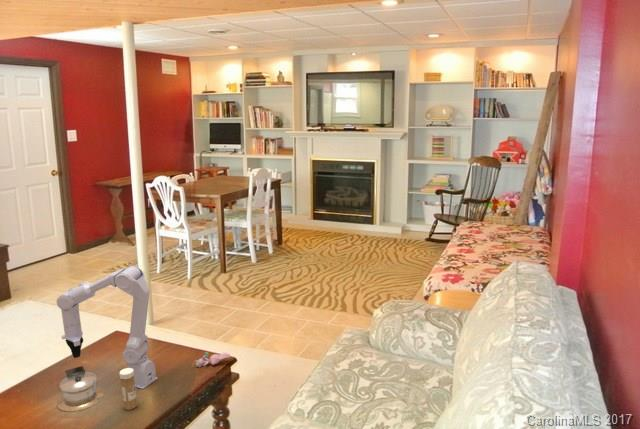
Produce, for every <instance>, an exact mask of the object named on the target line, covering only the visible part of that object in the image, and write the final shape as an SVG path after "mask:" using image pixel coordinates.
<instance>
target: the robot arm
mask: <svg viewBox="0 0 640 429" xmlns="http://www.w3.org/2000/svg"><path fill="white" fill-rule="evenodd" d="M109 286H112V287H113V288H118V290H120V291H123V292H124V293H126V294H128V295H130V296H131V297H132V298H133V299H132V308H131V309H132V310H131V317H130V318H131V320H130V327H129V328H130V329H129V337H128V340H127V342H126V344H125V349H124V350H123V352H122V359H123V361H124V362H125V363H126V366H127V367H126V368H132V369H133V370H134V382H135V388H138V389H142V390H143V389H145V388H147V387H148V386H150V385H151V384H152V383H154V382H155V381H157V380H158V379H159V378H158V377H157V372H156V365H155V363H154V362H153V361H152V360H150V359H149V358H148V354H147V353H148V350H149V349H150V345H149V344H150V343H149V340H148V335H146V330H147V329H146V326H147V318H148V310H149V309H148V308H149V299H150V289H149V286H148V284H147V281H146V279H145V272H144V270H142V269H141V268H140V267H139V266H137V265H128V267H127V268H126V267H125V268H124V267H123V268H121V269H118V270H116V271H114V272H111V273H109V274H107V275H106V276H104V277H102V278H100V279H98V280H96V281H95V282H92V283H91V282H81V283H78V286H76V287H74V288H69V289H68V291H65V292H64V293H62V294H60V295H59V296H58V297H57V299H56V305H57V307H58V308H59V309H60V310H61V318H62V323H63V324H62V325H63V330H64V334H63V335H61V339H62V340H64V341H65V343H66V344H67V346H68V348H70V351H71V352H70V353H71V355H72V357H73V358H74V359H76V358H77V359H78V358H80V357H81V351H82V346H83V343H84V338H83V336H84V335H83V334H84V333H83V330H82V323H81V316H80V309H79V308H80V307H79V306H80V304H81V303H82V302H84V301H88V300H89V299H91V298H93V297H95V295H96V292H98V291H100V290H102V289H105V288H107V287H109Z"/></svg>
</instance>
